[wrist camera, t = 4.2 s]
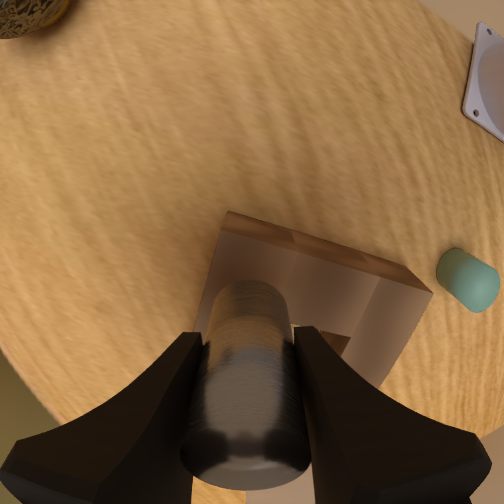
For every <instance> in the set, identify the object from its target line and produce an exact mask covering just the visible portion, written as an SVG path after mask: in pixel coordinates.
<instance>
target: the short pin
mask: <svg viewBox="0 0 504 504" xmlns="http://www.w3.org/2000/svg"><path fill="white" fill-rule="evenodd" d="M436 274H437V280H438V282H439V284H440V285H441V286H442V287H444V288H445V289H446V290H447V291H448V292H449V293H451V294H452V295H453V296H454V297H455V298H456V299H458V300H459V301H460V302H461V303H462V304H463V305H464V306H465V307H467V308H468V309H469V310H470V311H472V312H475V313H478V312H482V311H484V310H486V309H487V308H488V307H489V306H490V305H491V304H492V303H493V302H494V300H495V299H496V297H497V295H498V292H499V288H500V277H499V274H498V272H497V271H496V270H495V269H494V268H492V267H491V266H489V265H487V264H486V263H484V262H482V261H481V260H479V259H477V258H475V257H474V256H472V255H470V254H469V253H467V252H465V251H463V250H461V249H458V248H455V249H451V250H449V251H448V252H446V253H445V254H444V255H443V256H442V258H441V259H440V261H439V263H438V266H437V272H436Z"/></svg>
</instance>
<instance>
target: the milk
mask: <svg viewBox="0 0 504 504" xmlns="http://www.w3.org/2000/svg"><path fill="white" fill-rule="evenodd" d="M246 504H315V495H314V485H313V475H312V466H311V464H310V466H309V467H308V469H307V470H306V471H305V472H304V473H303V474H302V475H301V476H300V477H298V478H297V479H295V480H293V481H291V482H289V483H287V484H284V485H282V486H278V487H275V488H270V489H265V490H253V491H246Z"/></svg>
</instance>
